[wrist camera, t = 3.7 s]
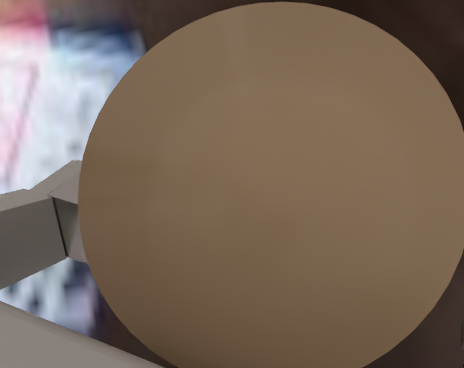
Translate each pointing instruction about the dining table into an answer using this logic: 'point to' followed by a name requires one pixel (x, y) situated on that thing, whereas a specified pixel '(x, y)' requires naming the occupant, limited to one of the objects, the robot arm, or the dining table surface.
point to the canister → (274, 191)
